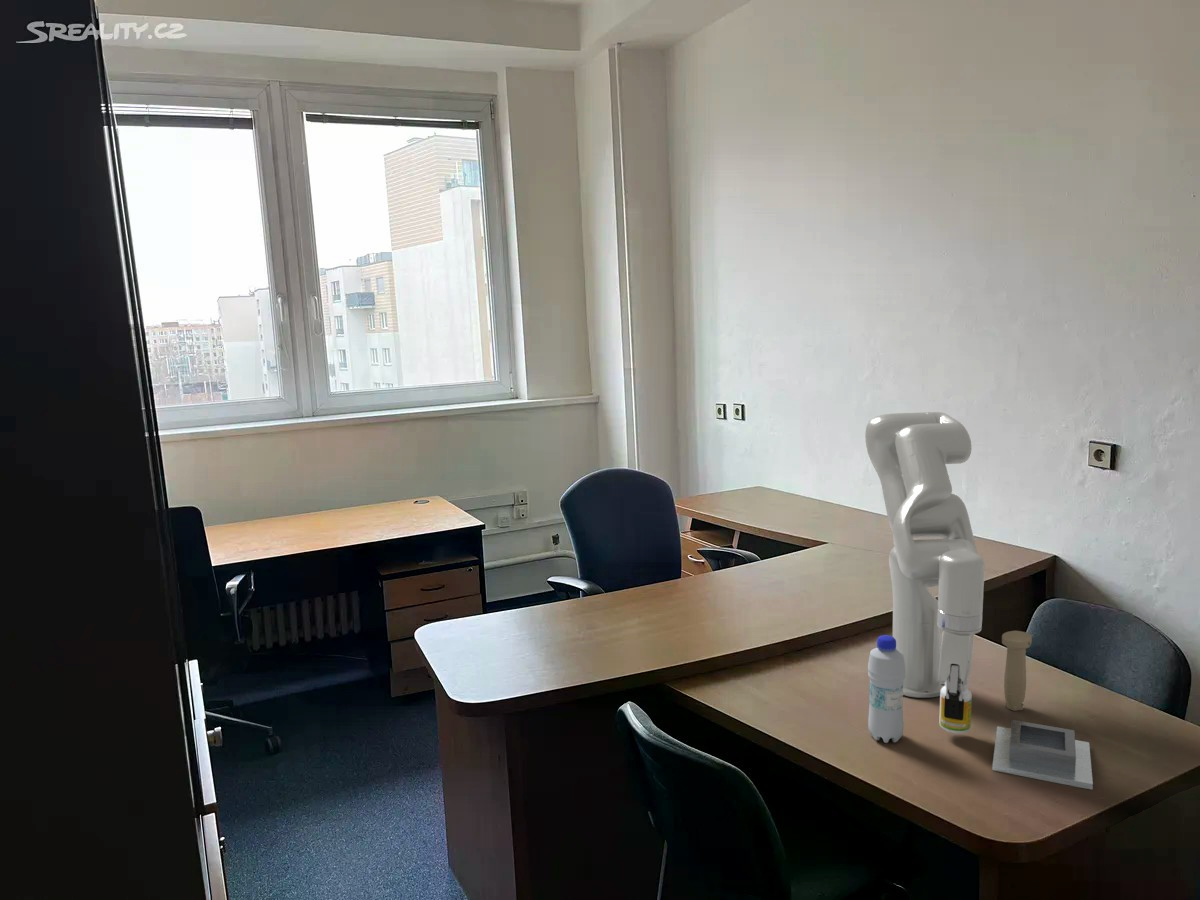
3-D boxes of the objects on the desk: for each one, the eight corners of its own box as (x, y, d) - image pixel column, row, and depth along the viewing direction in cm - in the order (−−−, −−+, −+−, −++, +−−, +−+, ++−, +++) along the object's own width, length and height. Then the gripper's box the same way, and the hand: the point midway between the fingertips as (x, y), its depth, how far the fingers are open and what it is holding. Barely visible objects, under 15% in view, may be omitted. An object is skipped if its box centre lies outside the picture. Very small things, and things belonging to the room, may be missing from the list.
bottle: (886, 749, 153) (887, 645, 150) (859, 734, 159) (860, 634, 156) (912, 740, 156) (914, 638, 153) (885, 725, 162) (886, 626, 159)
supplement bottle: (973, 735, 153) (975, 686, 151) (942, 733, 154) (944, 684, 152) (966, 720, 158) (968, 672, 157) (936, 718, 160) (938, 671, 158)
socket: (992, 770, 145) (993, 748, 145) (997, 731, 158) (997, 711, 158) (1092, 789, 138) (1093, 767, 138) (1088, 747, 151) (1090, 726, 151)
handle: (1033, 706, 167) (1037, 635, 165) (1018, 717, 163) (1021, 644, 161) (1009, 698, 171) (1012, 628, 169) (994, 709, 167) (996, 637, 165)
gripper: (942, 599, 161) (939, 686, 165) (931, 633, 147) (927, 728, 150) (985, 605, 158) (980, 694, 161) (978, 640, 143) (973, 737, 147)
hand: (955, 709), depth 156 cm, fingers closed on supplement bottle, 5 cm apart
